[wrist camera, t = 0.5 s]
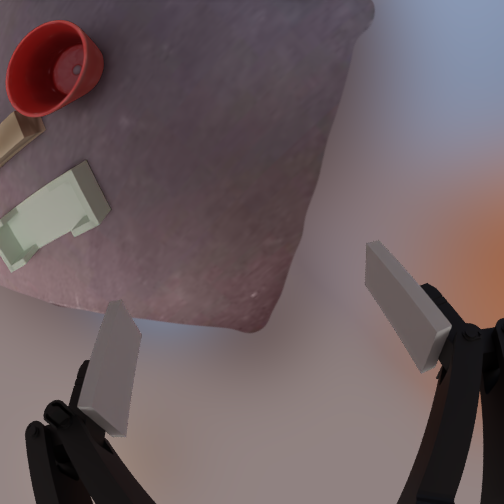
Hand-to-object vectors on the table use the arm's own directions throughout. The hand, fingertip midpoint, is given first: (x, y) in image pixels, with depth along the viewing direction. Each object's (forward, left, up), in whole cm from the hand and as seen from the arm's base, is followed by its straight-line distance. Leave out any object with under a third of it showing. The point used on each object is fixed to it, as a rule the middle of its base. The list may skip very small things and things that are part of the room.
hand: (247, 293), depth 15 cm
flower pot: (-21, -13, -26) cm, 36 cm away
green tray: (-5, -27, -26) cm, 38 cm away
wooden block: (-18, -29, -26) cm, 43 cm away
